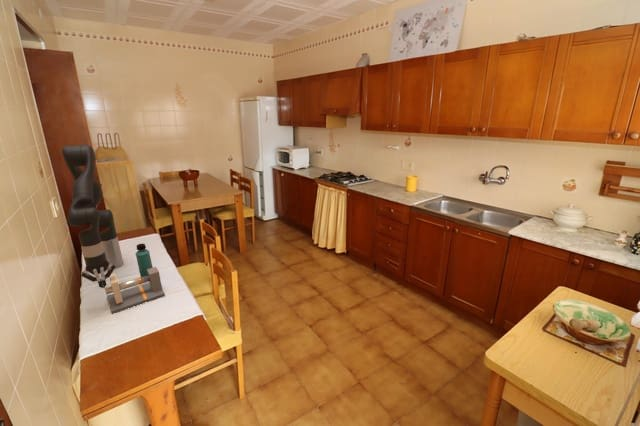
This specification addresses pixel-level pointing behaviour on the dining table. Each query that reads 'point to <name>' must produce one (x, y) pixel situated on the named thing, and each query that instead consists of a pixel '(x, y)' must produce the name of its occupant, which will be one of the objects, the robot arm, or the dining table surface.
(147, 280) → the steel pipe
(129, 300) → the mount board
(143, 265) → the beverage bottle
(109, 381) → the dining table surface
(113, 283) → the beige rectangular block
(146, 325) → the dining table surface
